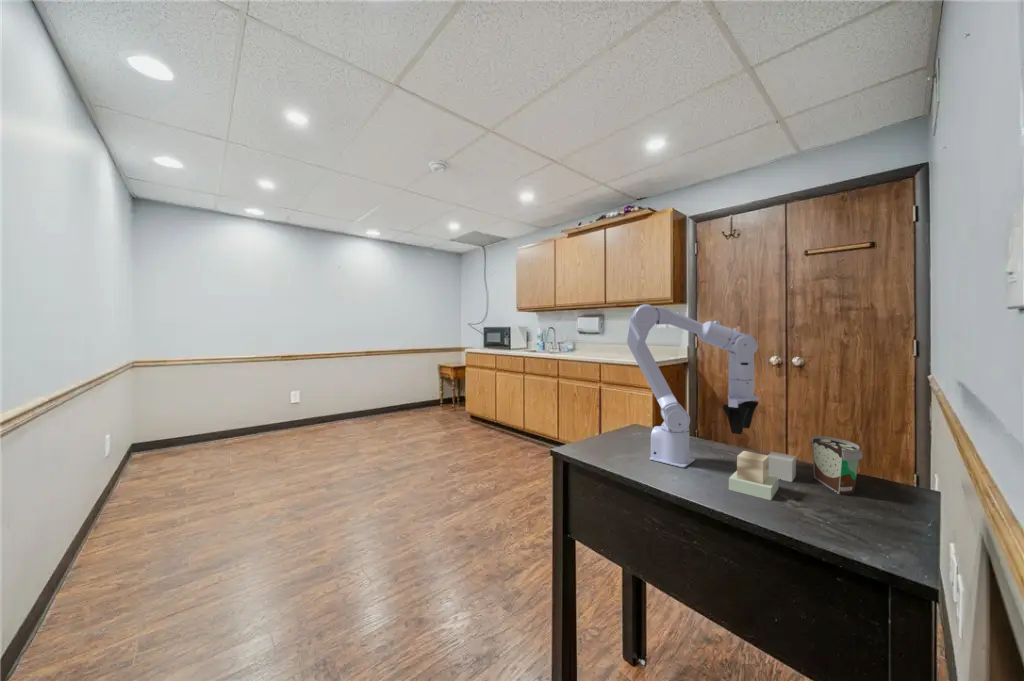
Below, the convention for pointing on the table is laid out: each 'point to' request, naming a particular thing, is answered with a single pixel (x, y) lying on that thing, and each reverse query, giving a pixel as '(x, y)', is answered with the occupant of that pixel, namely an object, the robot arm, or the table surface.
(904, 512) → the table surface
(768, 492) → the sage block
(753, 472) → the birch cube
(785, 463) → the grey block
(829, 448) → the food container
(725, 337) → the robot arm
